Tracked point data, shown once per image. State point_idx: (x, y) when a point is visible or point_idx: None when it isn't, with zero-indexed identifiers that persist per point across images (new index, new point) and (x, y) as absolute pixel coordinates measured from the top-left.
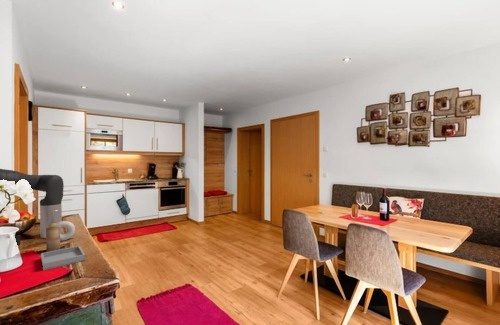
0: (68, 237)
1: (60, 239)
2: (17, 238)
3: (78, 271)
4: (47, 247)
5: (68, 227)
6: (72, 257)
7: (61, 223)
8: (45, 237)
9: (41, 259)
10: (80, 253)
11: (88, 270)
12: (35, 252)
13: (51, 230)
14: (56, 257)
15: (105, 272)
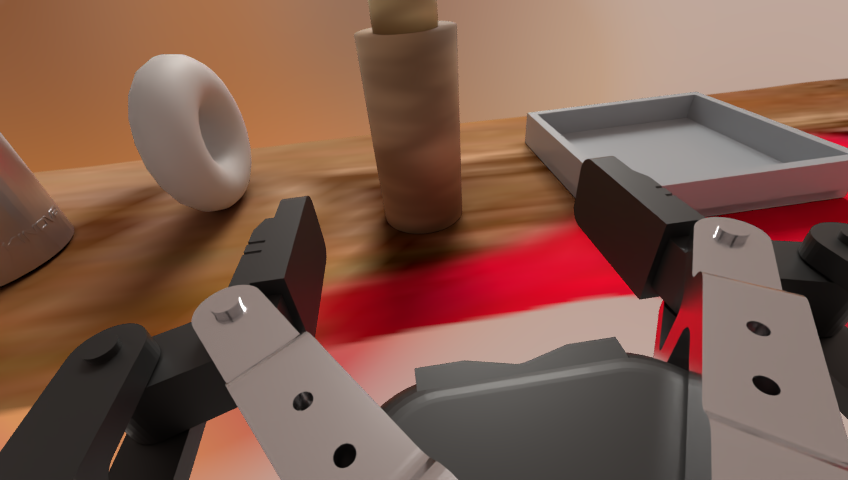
0: (250, 169)
1: (239, 194)
2: (313, 243)
3: (834, 121)
4: (445, 198)
5: (222, 100)
6: (736, 107)
7: (186, 70)
8: (11, 275)
9: None
10: (609, 122)
11: (817, 108)
12: (401, 280)
13: (455, 43)
14: None
15: (834, 87)
